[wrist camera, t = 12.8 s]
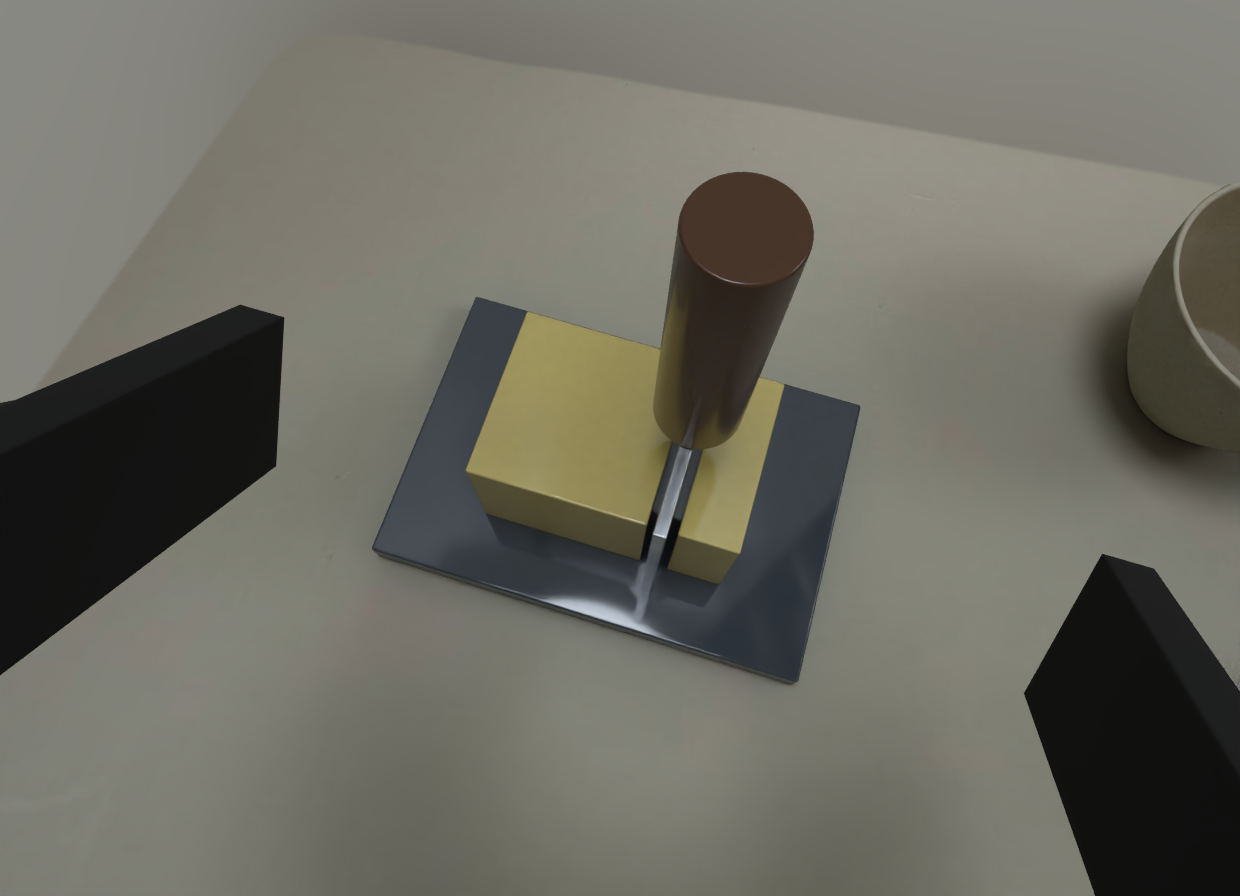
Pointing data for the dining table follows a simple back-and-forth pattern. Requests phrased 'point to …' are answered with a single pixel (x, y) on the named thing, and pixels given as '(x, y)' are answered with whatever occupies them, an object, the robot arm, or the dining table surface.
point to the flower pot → (1193, 329)
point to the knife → (722, 316)
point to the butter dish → (613, 583)
